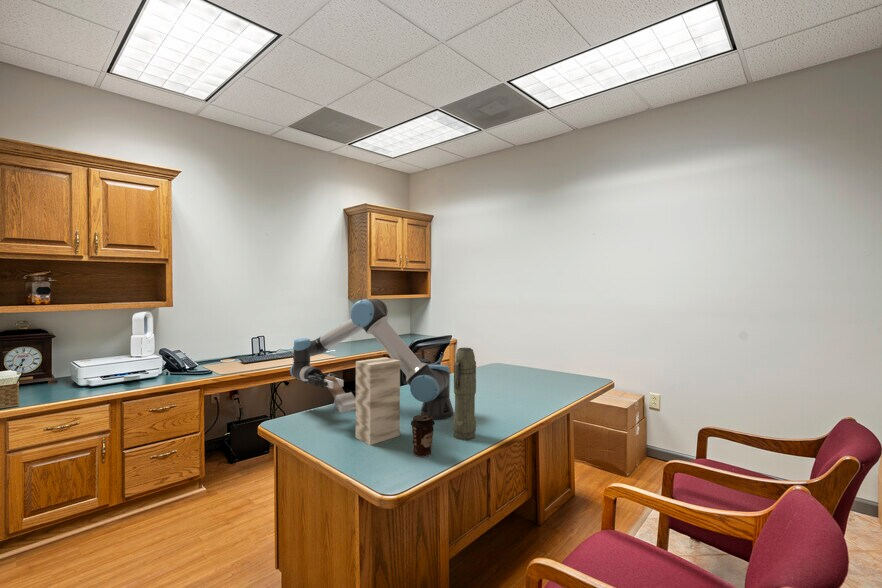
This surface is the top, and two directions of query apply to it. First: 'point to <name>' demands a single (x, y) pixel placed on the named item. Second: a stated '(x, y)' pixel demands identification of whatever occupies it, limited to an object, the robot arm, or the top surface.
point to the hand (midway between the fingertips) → (337, 384)
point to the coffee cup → (422, 434)
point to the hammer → (341, 396)
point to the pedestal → (377, 400)
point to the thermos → (464, 394)
